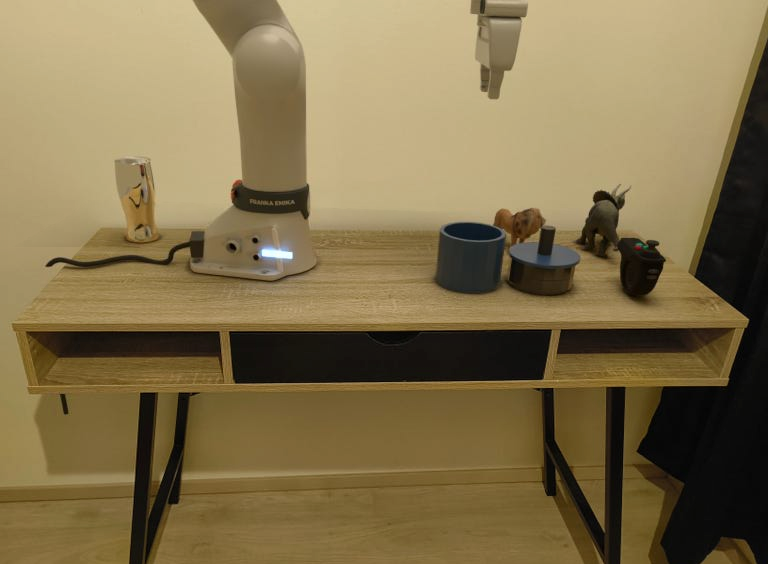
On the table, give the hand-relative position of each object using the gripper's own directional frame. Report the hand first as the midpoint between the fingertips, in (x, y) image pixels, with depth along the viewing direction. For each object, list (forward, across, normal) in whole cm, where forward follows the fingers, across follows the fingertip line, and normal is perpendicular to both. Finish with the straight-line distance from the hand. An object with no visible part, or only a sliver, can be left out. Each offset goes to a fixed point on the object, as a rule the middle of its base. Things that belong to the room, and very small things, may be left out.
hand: (488, 95), depth 115 cm
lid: (+24, +12, +10) cm, 29 cm away
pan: (+29, +12, +10) cm, 33 cm away
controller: (+29, +14, +26) cm, 42 cm away
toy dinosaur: (+29, -8, +26) cm, 40 cm away
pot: (+29, +12, -2) cm, 32 cm away
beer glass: (+29, -5, -64) cm, 71 cm away
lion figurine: (+29, -8, +9) cm, 32 cm away
